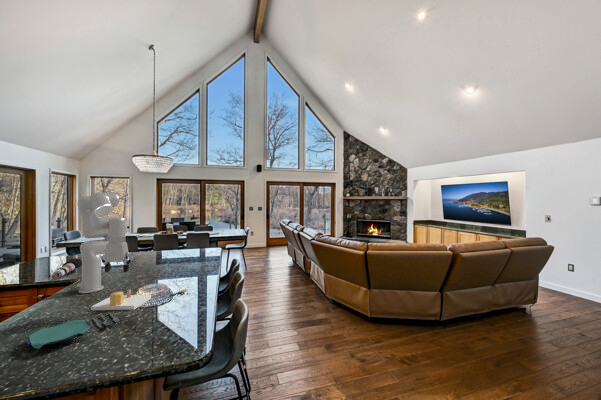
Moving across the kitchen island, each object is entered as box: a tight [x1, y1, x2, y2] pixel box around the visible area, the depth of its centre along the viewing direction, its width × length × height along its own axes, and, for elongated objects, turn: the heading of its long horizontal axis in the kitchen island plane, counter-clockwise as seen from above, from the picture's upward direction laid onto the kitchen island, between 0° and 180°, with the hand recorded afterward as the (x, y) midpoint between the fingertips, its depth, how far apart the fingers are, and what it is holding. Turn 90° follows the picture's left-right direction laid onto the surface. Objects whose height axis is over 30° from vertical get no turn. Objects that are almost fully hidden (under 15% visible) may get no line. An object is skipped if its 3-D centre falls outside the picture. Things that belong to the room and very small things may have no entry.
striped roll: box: [51, 258, 82, 279], centre depth 199 cm, size 10×34×10 cm
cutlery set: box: [25, 311, 121, 350], centre depth 111 cm, size 20×30×2 cm, turn 141°
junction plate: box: [90, 289, 152, 311], centre depth 141 cm, size 22×16×6 cm
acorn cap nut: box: [109, 291, 125, 306], centre depth 136 cm, size 6×6×6 cm
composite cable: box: [170, 288, 188, 298], centre depth 156 cm, size 10×5×2 cm, turn 131°
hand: (116, 271), depth 138 cm, fingers open, 9 cm apart
